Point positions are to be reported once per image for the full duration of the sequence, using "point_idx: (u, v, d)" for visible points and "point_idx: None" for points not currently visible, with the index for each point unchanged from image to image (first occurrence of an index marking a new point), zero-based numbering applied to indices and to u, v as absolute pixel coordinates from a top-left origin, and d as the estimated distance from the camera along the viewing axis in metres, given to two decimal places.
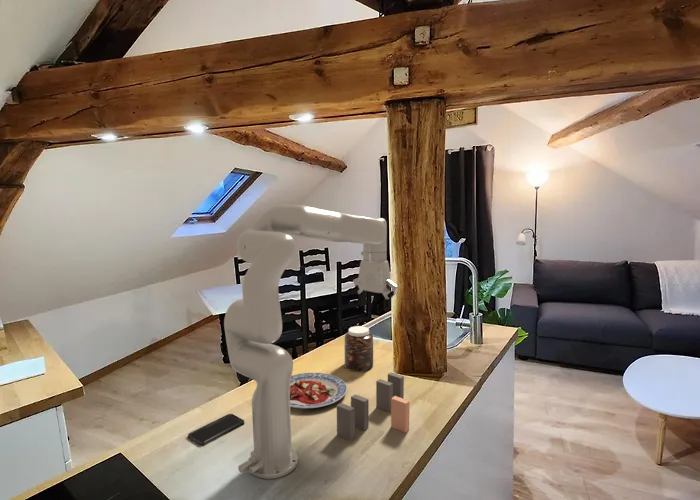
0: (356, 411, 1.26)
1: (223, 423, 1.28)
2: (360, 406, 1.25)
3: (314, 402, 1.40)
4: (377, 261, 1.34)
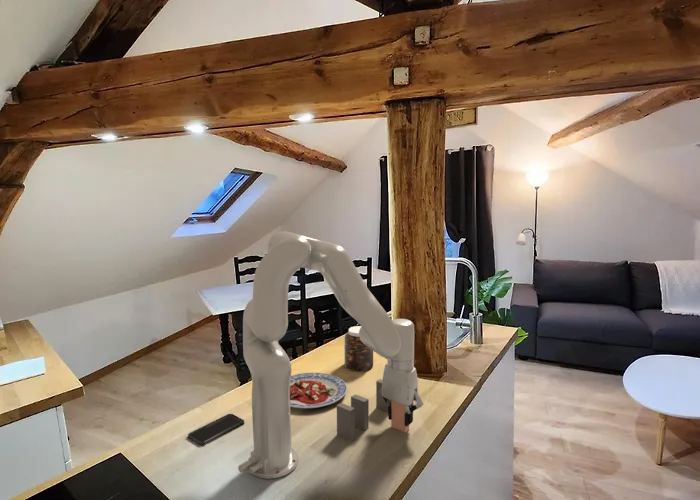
0: (356, 411, 1.26)
1: (223, 423, 1.28)
2: (360, 406, 1.25)
3: (314, 402, 1.40)
4: (404, 371, 1.20)
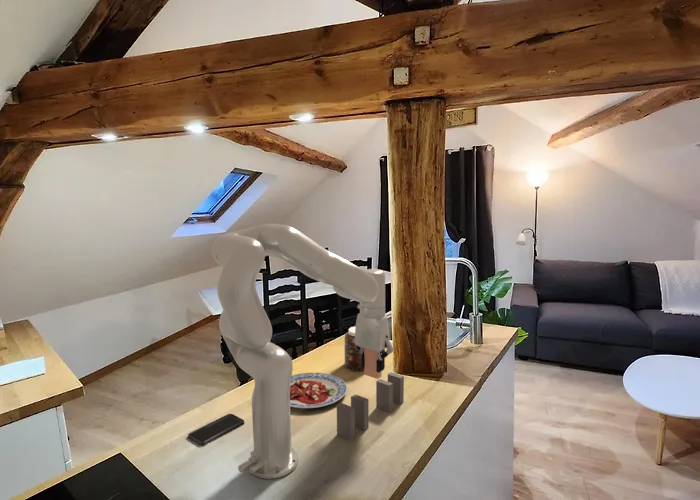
0: (356, 411, 1.26)
1: (223, 423, 1.28)
2: (360, 406, 1.25)
3: (314, 402, 1.40)
4: (375, 317, 1.24)
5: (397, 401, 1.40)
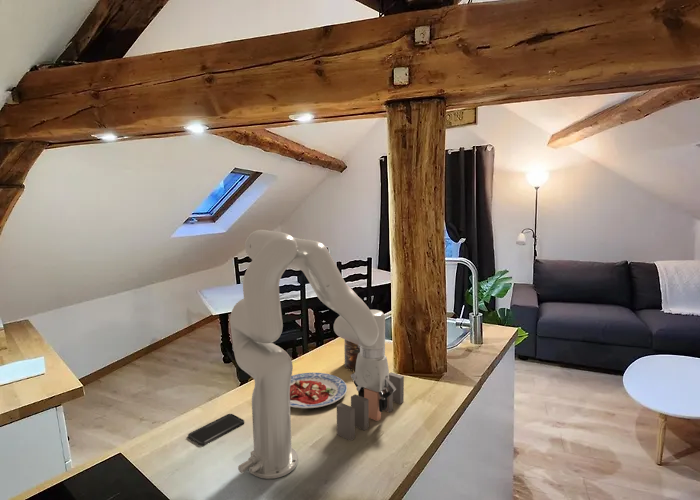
0: (356, 411, 1.26)
1: (223, 423, 1.28)
2: (360, 406, 1.25)
3: (314, 402, 1.40)
4: (375, 359, 1.26)
5: (397, 401, 1.40)
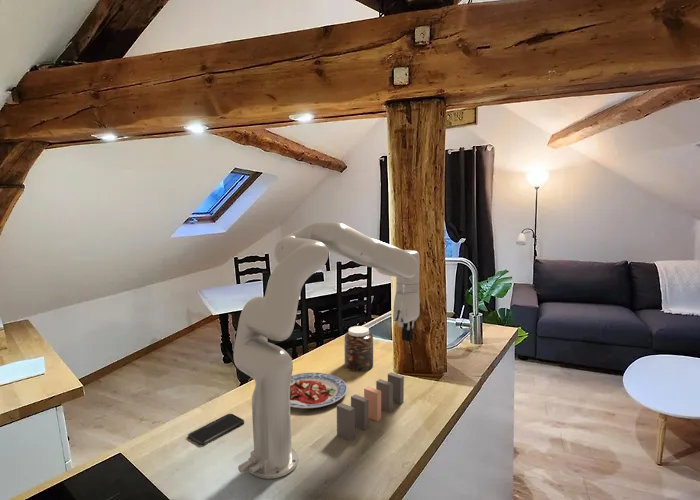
0: (356, 411, 1.26)
1: (223, 423, 1.28)
2: (360, 406, 1.25)
3: (314, 402, 1.40)
4: (396, 291, 1.42)
5: (397, 401, 1.40)
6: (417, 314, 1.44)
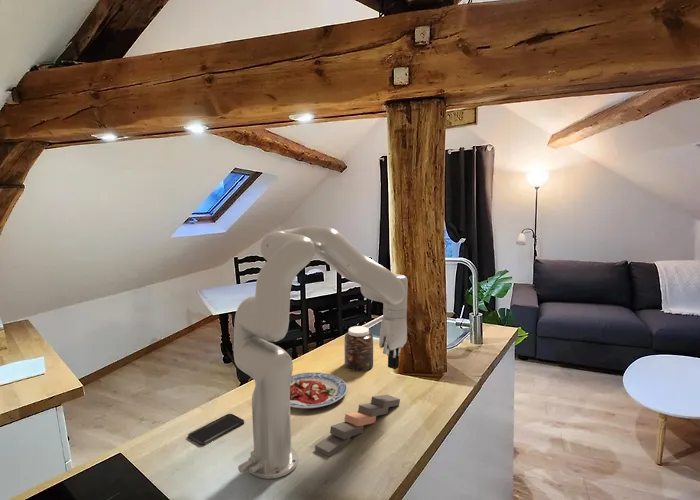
0: None
1: (223, 423, 1.28)
2: None
3: (314, 402, 1.40)
4: (383, 316, 1.37)
5: None
6: (404, 341, 1.39)
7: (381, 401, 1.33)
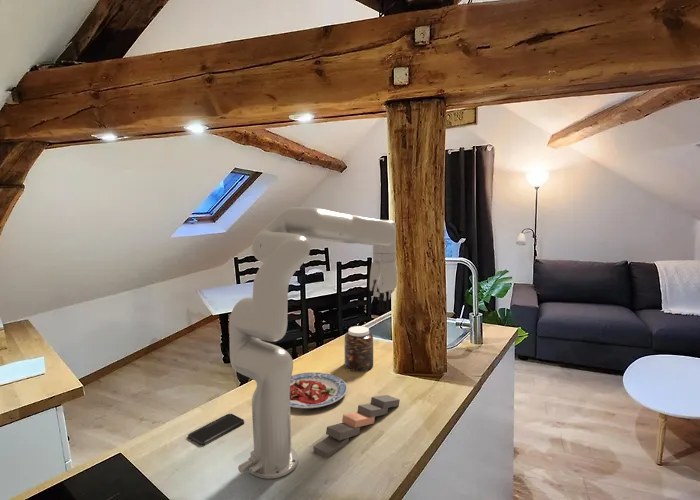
0: None
1: (222, 423, 1.28)
2: None
3: (314, 402, 1.40)
4: (373, 260, 1.41)
5: None
6: (394, 285, 1.44)
7: (381, 401, 1.33)
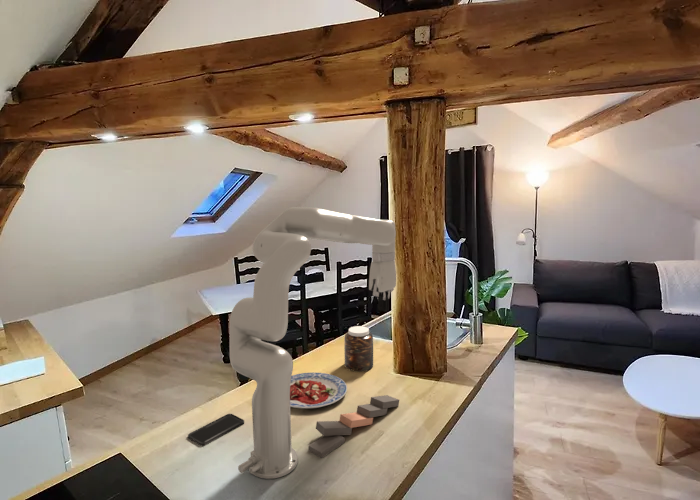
0: None
1: (222, 423, 1.28)
2: None
3: (314, 402, 1.40)
4: (372, 260, 1.41)
5: None
6: (393, 284, 1.44)
7: (380, 402, 1.33)
